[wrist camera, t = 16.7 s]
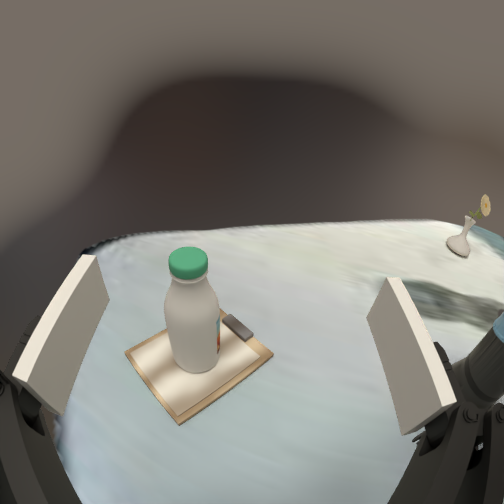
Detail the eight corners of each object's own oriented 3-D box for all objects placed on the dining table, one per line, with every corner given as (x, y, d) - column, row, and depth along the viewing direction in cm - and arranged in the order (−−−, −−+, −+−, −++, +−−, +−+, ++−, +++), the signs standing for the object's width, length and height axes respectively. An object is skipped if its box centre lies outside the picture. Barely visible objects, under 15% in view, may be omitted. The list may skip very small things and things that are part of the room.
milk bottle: (213, 379, 39) (210, 284, 28) (167, 367, 40) (143, 270, 28) (224, 341, 45) (228, 243, 34) (181, 332, 46) (170, 234, 34)
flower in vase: (451, 255, 79) (477, 193, 65) (441, 239, 89) (463, 181, 74) (474, 262, 78) (500, 204, 63) (463, 246, 87) (486, 191, 73)
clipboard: (273, 356, 45) (274, 350, 44) (179, 425, 33) (177, 422, 32) (213, 305, 54) (213, 298, 53) (125, 354, 41) (122, 348, 40)
